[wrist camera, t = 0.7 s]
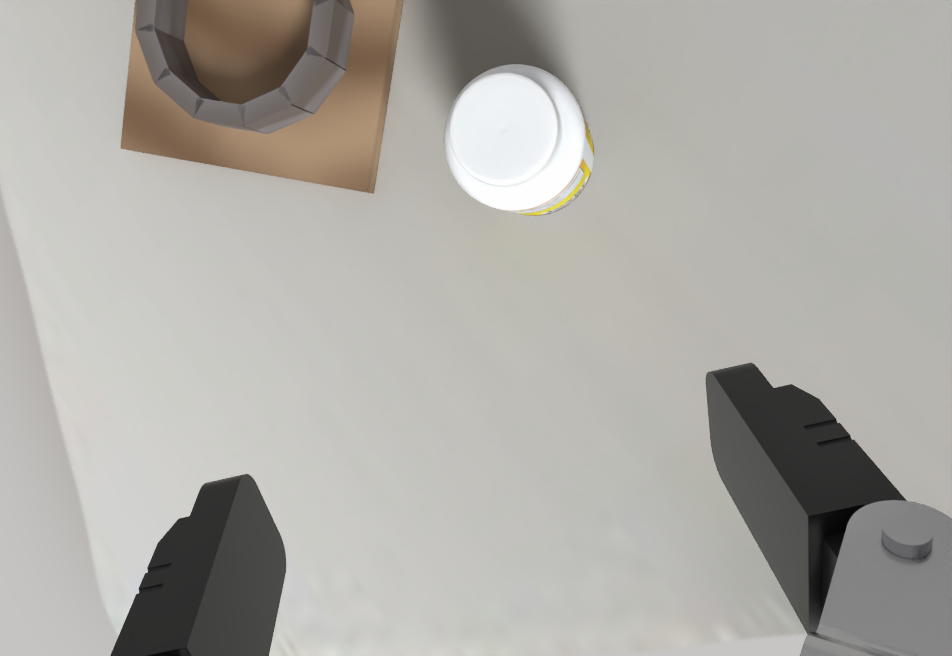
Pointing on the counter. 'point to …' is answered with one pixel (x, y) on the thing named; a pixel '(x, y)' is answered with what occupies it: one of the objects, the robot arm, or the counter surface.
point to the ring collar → (264, 85)
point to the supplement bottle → (519, 141)
